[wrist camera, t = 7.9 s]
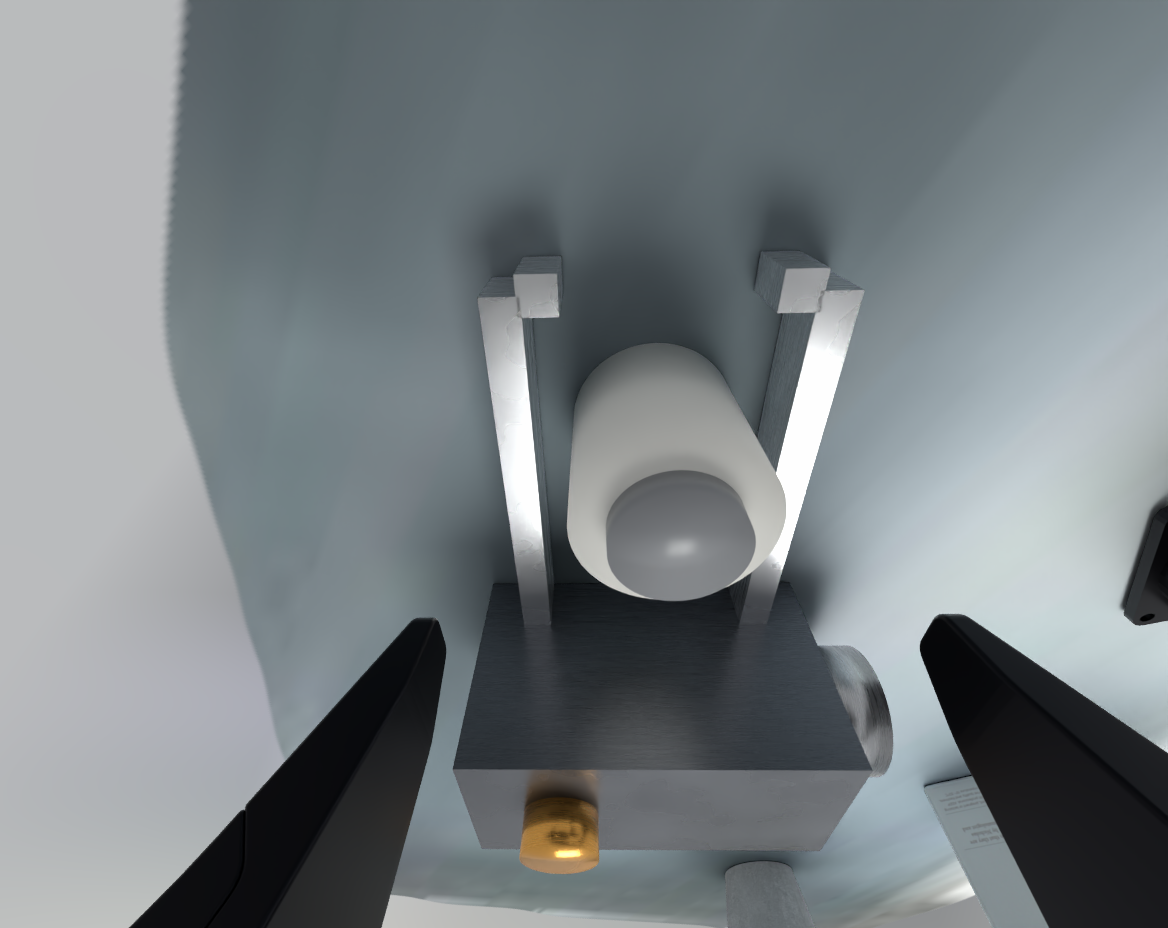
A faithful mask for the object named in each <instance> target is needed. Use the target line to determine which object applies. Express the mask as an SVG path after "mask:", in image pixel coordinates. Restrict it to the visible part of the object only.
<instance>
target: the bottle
mask: <svg viewBox="0 0 1168 928" xmlns="http://www.w3.org/2000/svg"><path fill="white" fill-rule="evenodd" d="M786 516H787V503H786V496H785V492H784V489H783V486H782V483H781V481H780V480H779V478H778V476H777V474H776V472H775V471H774V469H773V467H772V465H771V463H770V461H769V460H768V458H767V456H766V454H765V452H764V450H763V449H762V447H761V445H760V443H759V441H758V440H757V438H756V436H755V434H754V432H753V430H752V429H751V427H750V425H749V423H748V421H747V420H746V418H745V416H744V414H743V412H742V410H741V409H740V407H739V405H738V403H737V401H736V399H735V398H734V396H733V394H732V392H731V390H730V389H729V387H728V385H727V383H726V381H725V379H724V378H723V376H722V374H721V373H720V372H719V370H718V369H717V368H716V366H715V365H713V364H712V363H711V362H710V361H709V360H708V359H707V358H705V357H704V356H702V355H701V354H699V353H697V352H695V351H693V350H691V349H689V348H686V347H683V346H680V345H675V344H669V343H648V344H642V345H637V346H633V347H630V348H627V349H624V350H622V351H620V352H618V353H616V354H614V355H612V356H611V357H609V358H607V359H606V360H604V361H603V362H602V363H601V364H600V365H598V366H597V367H596V368H595V369H594V370H593V371H592V372H591V374H590V375H589V376H588V377H587V379H586V380H585V382H584V383H583V385H582V387H581V389H580V391H579V393H578V396H577V399H576V403H575V408H574V420H573V435H572V451H571V467H570V483H569V498H568V514H567V532H568V538H569V542H570V545H571V548H572V550H573V552H574V554H575V556H576V558H577V559H578V560H579V562H580V563H581V565H582V566H583V567H584V568H585V569H586V570H587V571H588V572H589V573H590V574H591V575H592V576H594V577H595V578H596V579H597V580H599V581H600V582H602V583H604V584H605V585H607V586H609V587H611V588H613V589H615V590H617V591H620V592H623V593H626V594H629V595H632V596H637V597H641V598H648V599H656V600H663V601H684V600H692V599H697V598H701V597H704V596H707V595H710V594H713V593H715V592H717V591H719V590H721V589H723V588H725V587H728V586H730V585H732V584H733V583H735V582H737V581H739V580H741V579H742V578H744V577H745V576H747V575H748V574H750V573H751V572H752V571H753V570H755V569H756V568H757V567H758V566H759V565H760V564H761V563H762V562H763V561H764V560H765V559H766V558H767V557H768V556H769V555H770V553H771V552H772V551H773V549H774V548H775V546H776V544H777V543H778V541H779V539H780V537H781V534H782V532H783V529H784V526H785V521H786Z"/></svg>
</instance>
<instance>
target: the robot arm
mask: <svg viewBox="0 0 1168 928" xmlns="http://www.w3.org/2000/svg"><path fill="white" fill-rule="evenodd" d="M1124 616H1126V617H1127V618H1128V619H1129V620H1130V621H1131V622H1132V623H1133V624H1135V625H1139V626H1140V625H1147V624H1152V623H1157V622H1162V621H1168V506H1166V507H1164V508H1163V509H1161V510H1160V511H1159V512H1158V513H1157V514H1156V515H1155V517H1154V519H1153V522H1152V526H1151V529H1150V532H1149V535H1148V538H1147V541H1146V544H1145V548H1144V551H1143V554H1142V557H1141V560H1140V563H1139V566H1138V570H1137V573H1136V576H1135V579H1134V582H1133V585H1132V588H1131V592H1130V595H1129V598H1128V601H1127V604H1126V607H1125V610H1124ZM920 652H921V656H922V659H923V662H924V664H925V667H926V669H927V672H928V674H929V677H930V679H931V682H932V685H933V687H934V690H935V692H936V695H937V697H938V700H939V703H940V705H941V708H942V710H943V713H944V715H945V718H946V720H947V723H948V726H949V728H950V730H951V733H952V735H953V737H954V740H955V742H956V744H957V746H958V748H959V750H960V753H961V755H962V757H963V759H964V761H965V763H966V765H967V767H968V769H969V771H970V773H971V775H972V777H973V779H974V780H975V782H976V784H977V786H978V788H979V790H980V792H981V794H982V796H983V798H984V800H985V802H986V804H987V806H988V808H989V810H990V812H991V814H992V816H993V818H994V820H995V822H996V824H997V826H998V828H999V830H1000V832H1001V834H1002V836H1003V838H1004V840H1005V842H1006V844H1007V846H1008V848H1009V850H1010V852H1011V854H1012V856H1013V858H1014V860H1015V862H1016V864H1017V866H1018V868H1019V870H1020V872H1021V874H1022V876H1023V878H1024V880H1025V882H1026V884H1027V886H1028V888H1029V890H1030V892H1031V893H1032V895H1033V897H1034V899H1035V901H1036V903H1037V905H1038V907H1039V909H1040V911H1041V913H1042V915H1043V917H1044V919H1045V921H1046V923H1047V925H1048V927H1049V928H1168V753H1167V752H1165V751H1164V750H1162V749H1161V748H1159V747H1158V746H1157V745H1155V744H1154V743H1152V742H1151V741H1149V740H1148V739H1146V738H1145V737H1143V736H1142V735H1140V734H1139V733H1138V732H1136V731H1135V730H1133V729H1132V728H1130V727H1129V726H1127V725H1126V724H1124V723H1123V722H1121V721H1120V720H1118V719H1117V718H1116V717H1114V716H1113V715H1111V714H1110V713H1108V712H1107V711H1105V710H1104V709H1102V708H1101V707H1099V706H1098V705H1096V704H1095V703H1094V702H1092V701H1091V700H1089V699H1088V698H1086V697H1085V696H1083V695H1082V694H1080V693H1079V692H1077V691H1076V690H1075V689H1073V688H1072V687H1070V686H1069V685H1067V684H1066V683H1064V682H1063V681H1061V680H1060V679H1058V678H1057V677H1055V676H1054V675H1053V674H1051V673H1050V672H1048V671H1047V670H1045V669H1044V668H1042V667H1041V666H1039V665H1038V664H1036V663H1035V662H1034V661H1032V660H1031V659H1029V658H1028V657H1026V656H1025V655H1023V654H1022V653H1020V652H1019V651H1017V650H1016V649H1014V648H1013V647H1012V646H1010V645H1009V644H1007V643H1006V642H1004V641H1003V640H1001V639H1000V638H998V637H997V636H995V635H994V634H993V633H991V632H990V631H988V630H987V629H985V628H984V627H982V626H981V625H979V624H978V623H976V622H975V621H973V620H972V619H970V618H969V617H967V616H965V615H962V614H939V615H937V616H936V617H935V618H934V619H933V621H932V623H931V624H930V626H929V628H928V629H927V631H926V633H925V635H924V636H923V638H922V640H921V642H920ZM445 659H446V644H445V641H444V637H443V634H442V631H441V627H440V624H439V621H438V620H437V619H436V618H415V619H414V620H412V621H411V622H410V623H409V624H408V625H407V626H406V627H405V629H404V630H403V631H402V632H401V633H400V634H399V635H398V636H397V638H396V639H395V640H394V641H393V642H392V643H391V644H390V645H389V646H388V648H387V649H386V650H385V651H384V652H383V653H382V654H381V655H380V656H379V658H378V659H377V660H376V661H375V662H374V663H373V664H372V665H371V666H370V668H369V669H368V670H367V671H366V672H365V673H364V674H363V675H362V676H361V678H360V679H359V680H358V681H357V682H356V683H355V684H354V685H353V686H352V688H351V689H350V690H349V691H348V692H347V693H346V694H345V695H344V696H343V698H342V699H341V700H340V701H339V702H338V703H337V704H336V705H335V706H334V708H333V709H332V710H331V711H330V712H329V713H328V714H327V715H326V716H325V718H324V719H323V720H322V721H321V722H320V723H319V724H318V725H317V726H316V728H315V729H314V730H313V731H312V732H311V733H310V734H309V735H308V736H307V738H306V739H305V740H304V741H303V742H302V743H301V744H300V745H299V746H298V748H297V749H296V750H295V751H294V752H293V753H292V754H291V755H290V757H289V758H288V759H287V760H286V761H285V762H284V763H283V764H282V765H281V767H280V768H279V769H278V770H277V771H276V772H275V773H274V774H273V775H272V777H271V778H270V779H269V780H268V781H267V782H266V783H265V784H264V785H263V787H262V788H261V789H260V790H259V791H258V792H257V793H256V794H255V795H254V797H253V798H252V799H251V800H250V801H249V802H248V803H247V804H246V807H245V810H241V811H240V812H239V813H238V814H237V815H236V816H235V818H234V819H233V820H232V821H231V822H230V823H229V824H228V825H227V826H226V828H225V829H224V830H223V831H222V832H221V833H220V834H219V835H218V836H217V837H216V838H215V840H214V841H213V842H212V843H211V844H210V845H209V846H208V847H207V848H206V849H205V850H204V851H203V852H202V853H201V855H200V856H199V857H198V858H197V859H196V860H195V861H194V862H193V863H192V864H191V865H190V866H189V868H188V869H187V870H186V871H185V872H184V873H183V874H182V875H181V876H180V877H179V878H178V879H177V880H176V881H175V882H174V883H173V884H172V885H171V886H170V887H169V888H168V889H167V890H166V891H165V892H164V893H163V894H162V895H161V896H160V897H159V898H158V899H157V900H156V901H155V902H154V903H153V904H152V905H151V906H150V907H149V909H147V910H146V911H145V912H144V914H143V915H141V916H140V917H139V918H138V919H137V920H136V921H135V922H134V924H132V925H131V926H130V927H129V928H381V927H382V923H383V920H384V916H385V913H386V909H387V905H388V902H389V898H390V894H391V891H392V887H393V883H394V880H395V876H396V872H397V869H398V865H399V861H400V858H401V854H402V850H403V847H404V843H405V839H406V836H407V832H408V828H409V825H410V821H411V818H412V814H413V810H414V807H415V803H416V799H417V796H418V792H419V788H420V785H421V781H422V777H423V774H424V770H425V766H426V763H427V759H428V755H429V751H430V747H431V743H432V738H433V732H434V727H435V721H436V714H437V708H438V702H439V696H440V690H441V684H442V678H443V672H444V665H445Z"/></svg>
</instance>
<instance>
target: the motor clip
mask: <svg viewBox="0 0 1168 928" xmlns="http://www.w3.org/2000/svg"><path fill="white" fill-rule="evenodd" d="M830 270H831V268H830V267H828V266H827V265H825V264H823V263H821V262H819V261H817V260H816V259H814V258H812V257H810V256H808V255H807V254H805V253H803V252H801V251H761V253H760V258H759V264H758V270H757V276H756V282H755V288H754V291H755V292H756V293H757V294H758V295H759V296H760V297H761V298H762V299H763V300H764V301H765V302H766V303H767V304H768V305H769V306H770V307H771V308H772V309H774V310H775V311H776V312H777V313H783V314H782V319H781V324H780V329H779V333H778V338H777V343H776V348H775V353H774V358H773V363H772V367H771V372H770V377H769V382H768V387H767V392H766V396H765V401H764V406H763V411H762V416H761V421H760V425H759V430H758V435H757V440H758V441H759V443H760V445H761V447H762V449H763V450H764V452H765V454H766V456H767V458H768V460H769V461H770V463H771V465H772V467H773V469H774V471H775V472H776V474H777V476H778V478H779V480H780V481H781V483H782V486H783V489H784V492H785V496H786V503H787V516H786V521H785V526H784V529H783V532H782V534H781V537H780V539H779V541H778V543H777V544H776V546H775V548H774V549H773V551H772V552H771V553H770V555H769V556H768V557H767V558H766V559H765V560H764V561H763V562H762V563H761V564H760V565H759V566H758V567H757V568H756V569H755V570H753V571H752V572H751V573H750V574H748V575H747V576H745V577H744V578H742V579H741V580H739V581H737V582H735V583H733V584H732V585H730V586H728V587H725V588H723V589H721V590H719V591H717V592H715V593H713V594H710V595H707V596H704V597H701V598H697V599H692V600H684V601H663V600H656V599H648V598H641V597H637V596H632V595H629V594H626V593H623V592H620V591H617V590H615V589H613V588H611V587H609V586H607V585H605V584H604V583H601V584H554V574H553V562H552V550H551V538H550V526H549V514H548V502H547V490H546V478H545V466H544V454H543V442H542V430H541V418H540V406H539V394H538V382H537V370H536V358H535V345H534V333H533V321H532V318H550V317H559V315H560V309H561V303H562V298H563V283H562V261H561V256H529V257H523V258H522V260H521V262H520V263H519V265H518V267H517V269H516V270H515V272H514V274H513V277H492V278H491V279H490V280H489V282H488V283H487V285H486V286H485V287H484V289H483V290H482V292H481V293H480V295H479V296H478V297H477V299H478V306H479V313H480V320H481V327H482V334H483V341H484V348H485V355H486V362H487V369H488V376H489V383H490V390H491V397H492V404H493V411H494V418H495V425H496V432H497V439H498V445H499V452H500V459H501V466H502V473H503V480H504V487H505V494H506V501H507V508H508V515H509V522H510V529H511V536H512V543H513V550H514V557H515V564H516V571H517V578H518V584H493V588H492V592H491V597H490V601H489V606H488V611H487V615H486V620H485V624H484V629H483V633H482V638H481V643H480V647H479V652H478V656H477V661H476V665H475V670H474V675H473V679H472V684H471V688H470V693H469V697H468V702H467V706H466V711H465V716H464V720H463V725H462V729H461V734H460V738H459V743H458V748H457V752H456V757H455V761H454V766H453V772H454V774H455V777H456V780H457V782H458V785H459V788H460V791H461V793H462V796H463V799H464V801H465V804H466V807H467V810H468V812H469V815H470V818H471V820H472V823H473V826H474V829H475V831H476V834H477V837H478V839H479V842H480V845H481V848H482V849H520V861H521V863H522V864H523V865H525V866H526V867H528V868H531V869H533V870H536V871H540V872H545V873H554V874H570V873H578V872H583V871H586V870H589V869H592V868H593V867H595V866H596V865H597V864H598V862H599V850H742V851H820V850H821V849H822V847H823V846H824V844H825V843H826V841H827V840H828V838H829V837H830V835H831V834H832V832H833V830H834V829H835V827H836V826H837V824H838V823H839V821H840V820H841V818H842V817H843V815H844V814H845V812H846V811H847V809H848V808H849V806H850V805H851V803H852V802H853V800H854V799H855V797H856V796H857V794H858V792H859V791H860V789H861V788H862V786H863V785H864V783H865V782H866V780H867V779H868V777H880V776H882V775H884V773H885V772H886V771H887V770H888V768H889V765H890V762H891V758H892V752H893V732H892V723H891V717H890V713H889V708H888V705H887V701H886V698H885V695H884V692H883V689H882V687H881V684H880V682H879V680H878V678H877V676H876V674H875V672H874V670H873V668H872V667H871V665H870V664H869V662H868V661H867V659H866V658H865V657H864V656H863V655H862V654H861V653H860V652H859V651H858V650H856V649H855V648H853V647H851V646H817V643H816V641H815V639H814V637H813V634H812V632H811V630H810V628H809V625H808V623H807V621H806V619H805V616H804V614H803V612H802V610H801V607H800V605H799V603H798V601H797V598H796V596H795V594H794V592H793V589H792V587H791V585H790V583H789V582H779V580H780V577H781V574H782V570H783V567H784V563H785V560H786V557H787V553H788V550H789V546H790V543H791V540H792V536H793V533H794V529H795V526H796V522H797V519H798V516H799V512H800V509H801V505H802V502H803V499H804V495H805V492H806V488H807V485H808V482H809V478H810V475H811V471H812V468H813V465H814V461H815V458H816V454H817V451H818V447H819V444H820V441H821V437H822V434H823V430H824V427H825V424H826V420H827V417H828V413H829V410H830V407H831V403H832V400H833V396H834V393H835V390H836V386H837V383H838V379H839V376H840V373H841V369H842V366H843V362H844V359H845V355H846V352H847V349H848V345H849V342H850V338H851V335H852V332H853V328H854V325H855V321H856V318H857V315H858V311H859V308H860V304H861V301H862V298H863V294H864V291H865V290H864V289H862V288H860V287H859V286H857V285H855V284H853V283H852V282H850V281H848V280H846V279H844V278H843V277H841V276H839V275H837V274H836V273H834V272H832V271H830Z"/></svg>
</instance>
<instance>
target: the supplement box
mask: <svg viewBox="0 0 1168 928" xmlns="http://www.w3.org/2000/svg"><path fill="white" fill-rule="evenodd" d="M924 791H925V794H926V796H927V798H928V800H929V802H930V804H931V806H932V808H933V810H934V812H935V814H936V816H937V818H938V820H939V822H940V824H941V826H942V828H943V830H944V832H945V834H946V836H947V838H948V840H949V842H950V844H951V846H952V848H953V850H954V852H955V854H956V856H957V858H958V860H959V862H960V864H961V866H962V868H963V870H964V872H965V874H966V876H967V878H968V881H969V883H970V885H971V887H972V889H973V891H974V893H975V895H976V897H977V899H978V900H979V903H980V905H981V907H982V909H983V911H984V913H985V915H986V917H987V918H988V921H989V923H990V925H991V927H992V928H1049V927H1048V925H1047V923H1046V921H1045V919H1044V917H1043V915H1042V913H1041V911H1040V909H1039V907H1038V905H1037V903H1036V901H1035V899H1034V897H1033V895H1032V893H1031V892H1030V890H1029V888H1028V886H1027V884H1026V882H1025V880H1024V878H1023V876H1022V874H1021V872H1020V870H1019V868H1018V866H1017V864H1016V862H1015V860H1014V858H1013V856H1012V854H1011V852H1010V850H1009V848H1008V846H1007V844H1006V842H1005V840H1004V838H1003V836H1002V834H1001V832H1000V830H999V828H998V826H997V824H996V822H995V820H994V818H993V816H992V814H991V812H990V810H989V808H988V806H987V804H986V802H985V800H984V798H983V796H982V794H981V792H980V790H979V788H978V786H977V784H976V782H975V780H974V779H973V777H972V776H969V777H964V778H960V779H956V780H951V781H946V782H941V783H937V784H933V785H929V786H926V787H925V790H924Z"/></svg>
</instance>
